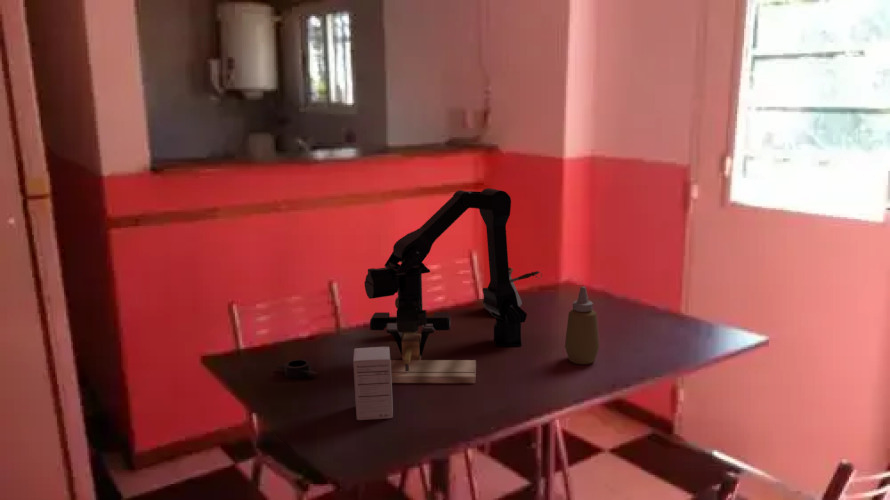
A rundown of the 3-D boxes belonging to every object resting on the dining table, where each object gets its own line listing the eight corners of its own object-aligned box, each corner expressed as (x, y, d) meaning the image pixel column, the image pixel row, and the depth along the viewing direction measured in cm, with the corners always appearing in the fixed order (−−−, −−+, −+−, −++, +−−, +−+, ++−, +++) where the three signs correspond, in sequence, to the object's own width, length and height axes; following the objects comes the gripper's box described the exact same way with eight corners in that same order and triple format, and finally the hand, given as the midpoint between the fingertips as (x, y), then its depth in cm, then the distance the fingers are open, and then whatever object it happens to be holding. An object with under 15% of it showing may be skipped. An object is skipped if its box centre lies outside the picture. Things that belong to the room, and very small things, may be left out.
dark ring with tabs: (287, 385, 161) (286, 373, 160) (276, 371, 170) (275, 359, 169) (320, 379, 164) (319, 367, 164) (308, 365, 173) (307, 354, 173)
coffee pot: (474, 311, 213) (473, 261, 210) (504, 304, 219) (503, 255, 216) (524, 328, 196) (524, 275, 193) (554, 320, 203) (554, 268, 200)
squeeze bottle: (602, 357, 173) (604, 284, 170) (594, 368, 166) (596, 293, 163) (569, 353, 177) (570, 281, 173) (560, 364, 170) (561, 290, 166)
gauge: (421, 357, 176) (420, 333, 175) (415, 380, 162) (415, 355, 160) (405, 357, 176) (404, 333, 175) (398, 380, 162) (397, 355, 161)
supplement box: (356, 405, 150) (353, 347, 147) (392, 403, 150) (390, 345, 147) (355, 421, 142) (352, 360, 140) (393, 418, 143) (390, 358, 140)
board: (475, 366, 169) (475, 359, 169) (475, 383, 160) (475, 376, 159) (382, 366, 171) (382, 359, 170) (376, 382, 161) (375, 375, 161)
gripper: (364, 302, 163) (367, 367, 166) (447, 302, 161) (448, 368, 165) (372, 289, 173) (375, 351, 177) (450, 289, 172) (451, 351, 176)
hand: (411, 355), depth 173 cm, fingers closed on gauge, 4 cm apart
